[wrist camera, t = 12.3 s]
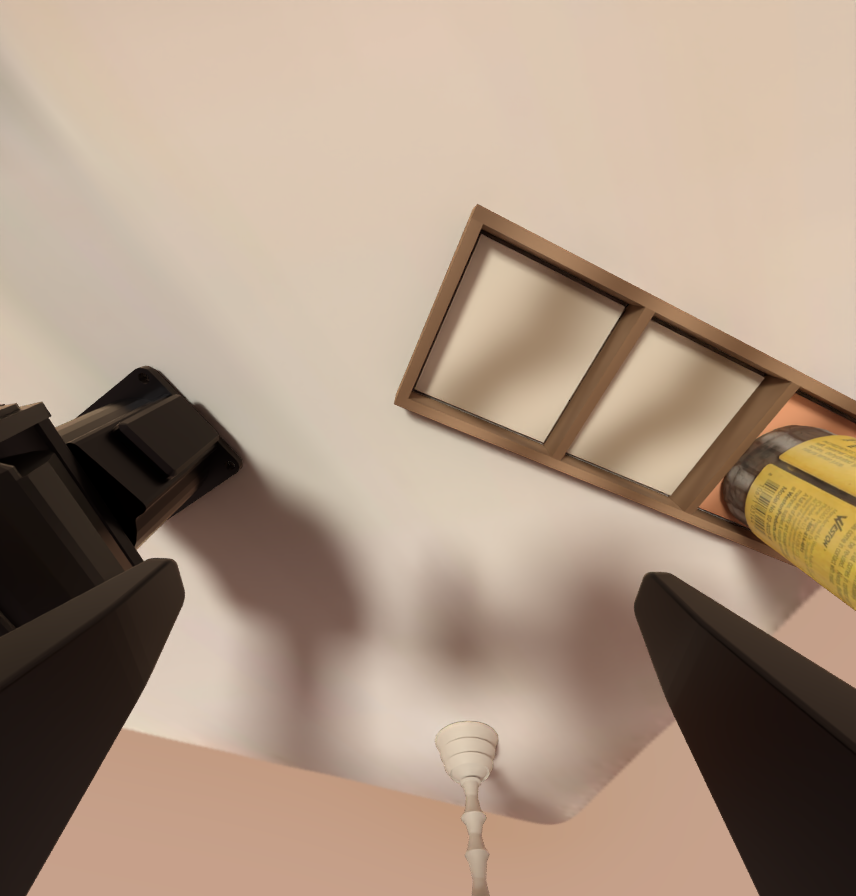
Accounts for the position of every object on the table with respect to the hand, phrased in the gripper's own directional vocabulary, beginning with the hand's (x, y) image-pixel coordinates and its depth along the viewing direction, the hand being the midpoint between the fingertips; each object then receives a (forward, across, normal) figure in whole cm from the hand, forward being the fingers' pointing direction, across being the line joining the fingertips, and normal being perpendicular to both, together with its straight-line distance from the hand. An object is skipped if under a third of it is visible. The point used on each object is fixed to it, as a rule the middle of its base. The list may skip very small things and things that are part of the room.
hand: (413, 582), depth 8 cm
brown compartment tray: (+13, -12, +1) cm, 18 cm away
